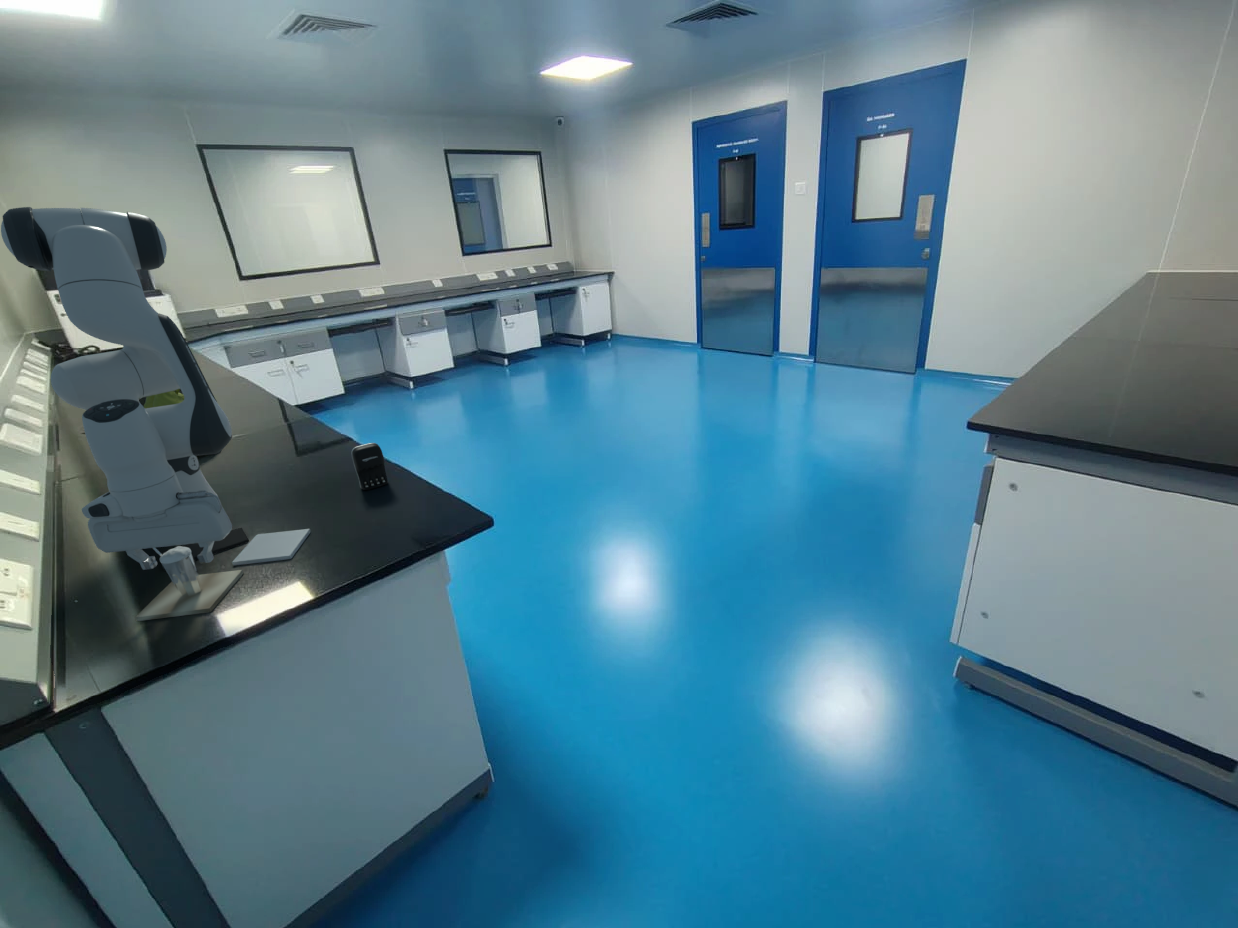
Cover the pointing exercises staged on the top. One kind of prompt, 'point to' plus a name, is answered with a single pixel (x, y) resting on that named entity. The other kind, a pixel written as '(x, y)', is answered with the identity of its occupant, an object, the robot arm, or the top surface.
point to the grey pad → (272, 547)
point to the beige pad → (203, 602)
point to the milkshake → (181, 570)
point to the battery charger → (369, 466)
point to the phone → (220, 543)
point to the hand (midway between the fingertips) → (179, 564)
